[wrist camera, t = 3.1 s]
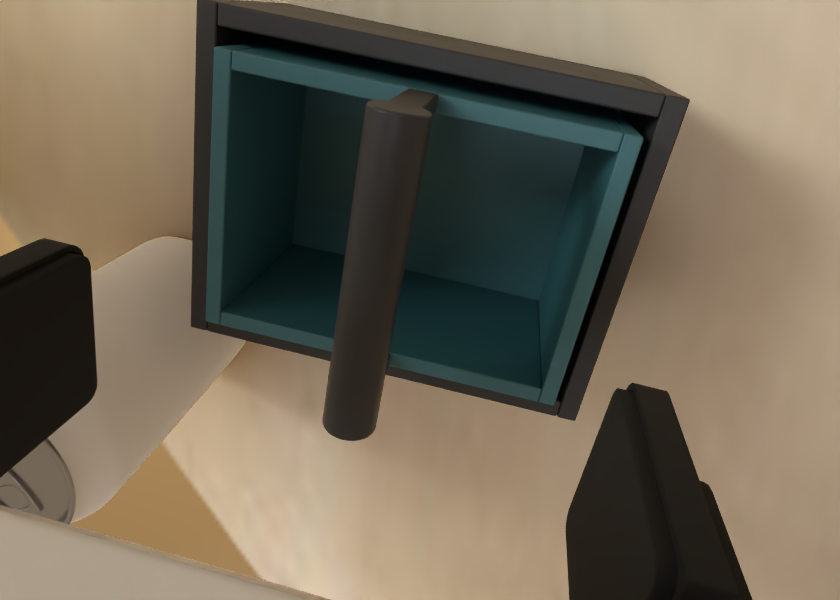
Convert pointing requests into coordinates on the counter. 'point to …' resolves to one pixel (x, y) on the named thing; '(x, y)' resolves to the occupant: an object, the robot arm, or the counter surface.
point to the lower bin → (629, 94)
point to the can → (125, 384)
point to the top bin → (407, 220)
